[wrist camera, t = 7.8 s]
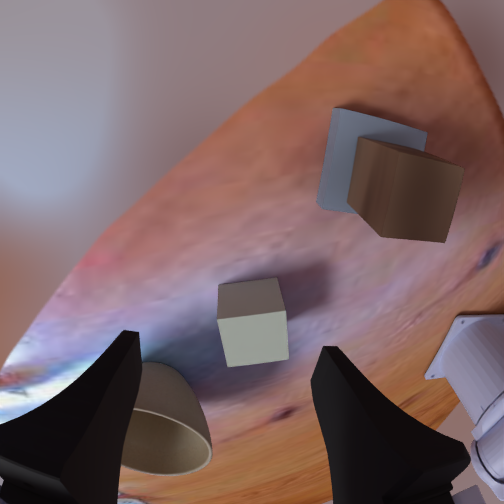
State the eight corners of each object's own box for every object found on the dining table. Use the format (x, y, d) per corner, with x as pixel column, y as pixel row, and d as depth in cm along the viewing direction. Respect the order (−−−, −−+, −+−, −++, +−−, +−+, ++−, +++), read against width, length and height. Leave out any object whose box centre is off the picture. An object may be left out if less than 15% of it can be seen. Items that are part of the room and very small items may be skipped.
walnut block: (415, 148, 17) (464, 168, 13) (402, 209, 19) (444, 243, 15) (357, 136, 17) (399, 152, 12) (346, 202, 19) (380, 237, 14)
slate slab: (411, 129, 19) (427, 132, 17) (393, 211, 21) (406, 221, 19) (330, 107, 18) (340, 108, 16) (314, 199, 20) (322, 209, 19)
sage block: (276, 276, 22) (285, 310, 19) (280, 322, 24) (288, 359, 20) (218, 284, 22) (217, 319, 19) (227, 329, 24) (227, 367, 20)
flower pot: (232, 362, 25) (234, 434, 19) (192, 423, 29) (189, 484, 22) (113, 320, 23) (84, 388, 16) (96, 392, 26) (77, 451, 20)
